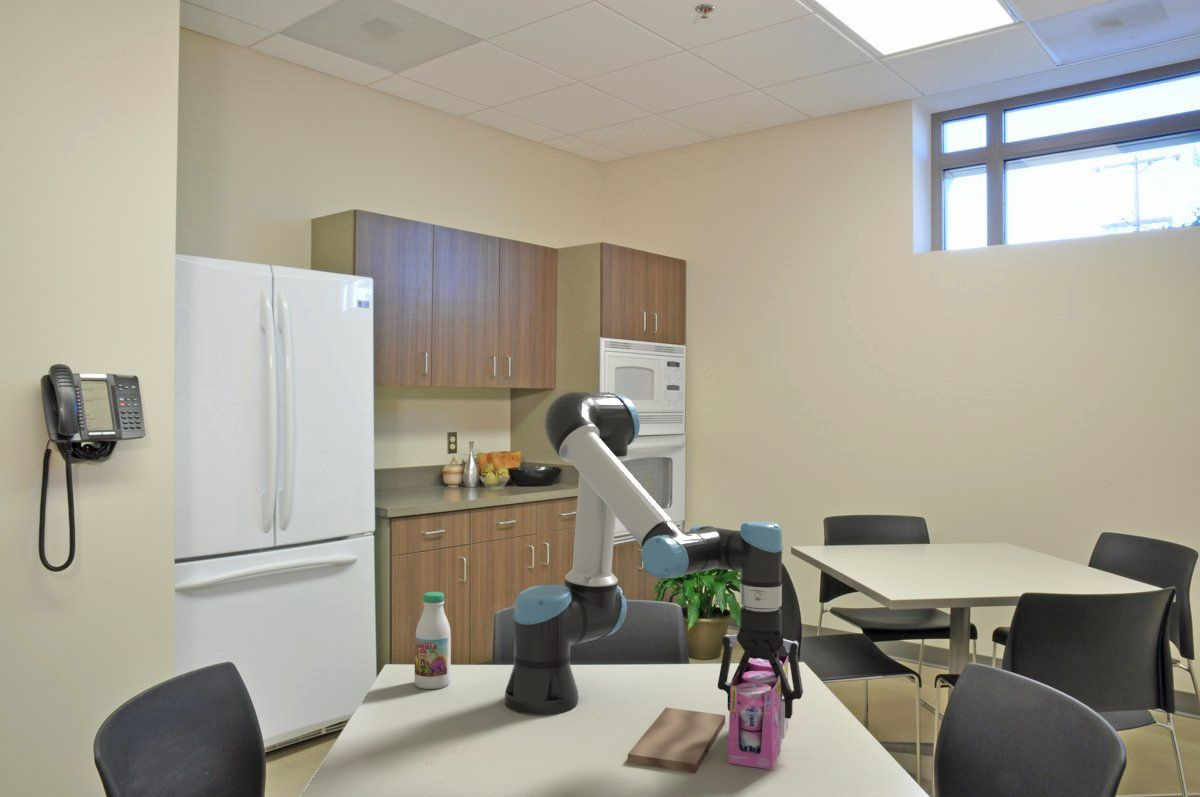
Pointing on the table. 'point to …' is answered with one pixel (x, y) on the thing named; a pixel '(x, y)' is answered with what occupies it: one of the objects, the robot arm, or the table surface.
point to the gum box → (756, 715)
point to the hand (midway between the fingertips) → (759, 731)
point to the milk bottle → (432, 644)
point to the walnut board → (677, 740)
